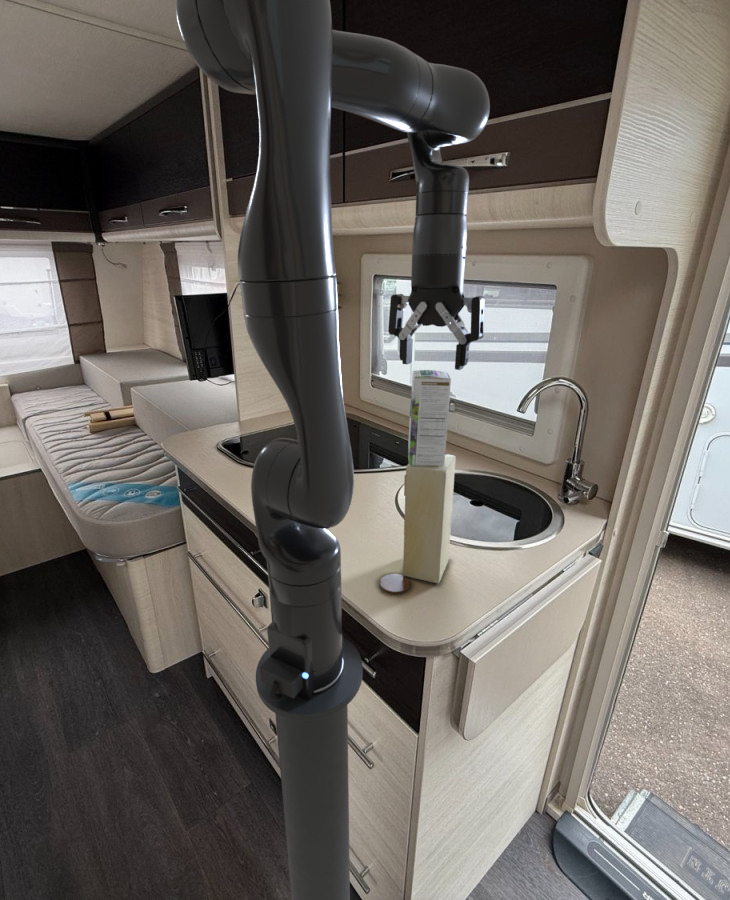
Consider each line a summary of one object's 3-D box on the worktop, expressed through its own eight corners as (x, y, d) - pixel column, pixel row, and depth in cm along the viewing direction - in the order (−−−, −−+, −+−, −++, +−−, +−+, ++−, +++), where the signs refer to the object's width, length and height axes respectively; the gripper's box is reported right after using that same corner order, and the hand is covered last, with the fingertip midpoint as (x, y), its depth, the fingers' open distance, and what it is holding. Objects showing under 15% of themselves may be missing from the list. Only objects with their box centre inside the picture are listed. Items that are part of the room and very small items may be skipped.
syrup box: (407, 453, 80) (410, 369, 75) (441, 454, 80) (447, 369, 75) (409, 466, 75) (412, 376, 70) (446, 467, 75) (452, 377, 69)
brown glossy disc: (401, 597, 77) (401, 595, 77) (374, 587, 79) (374, 585, 79) (413, 581, 81) (413, 579, 81) (387, 572, 83) (387, 570, 83)
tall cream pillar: (410, 551, 90) (415, 449, 82) (448, 560, 87) (457, 455, 79) (398, 575, 83) (401, 465, 75) (438, 584, 80) (446, 472, 73)
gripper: (382, 252, 66) (380, 366, 72) (481, 250, 60) (470, 375, 66) (403, 253, 73) (400, 358, 78) (496, 252, 66) (485, 366, 72)
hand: (432, 366), depth 72 cm, fingers open, 8 cm apart
